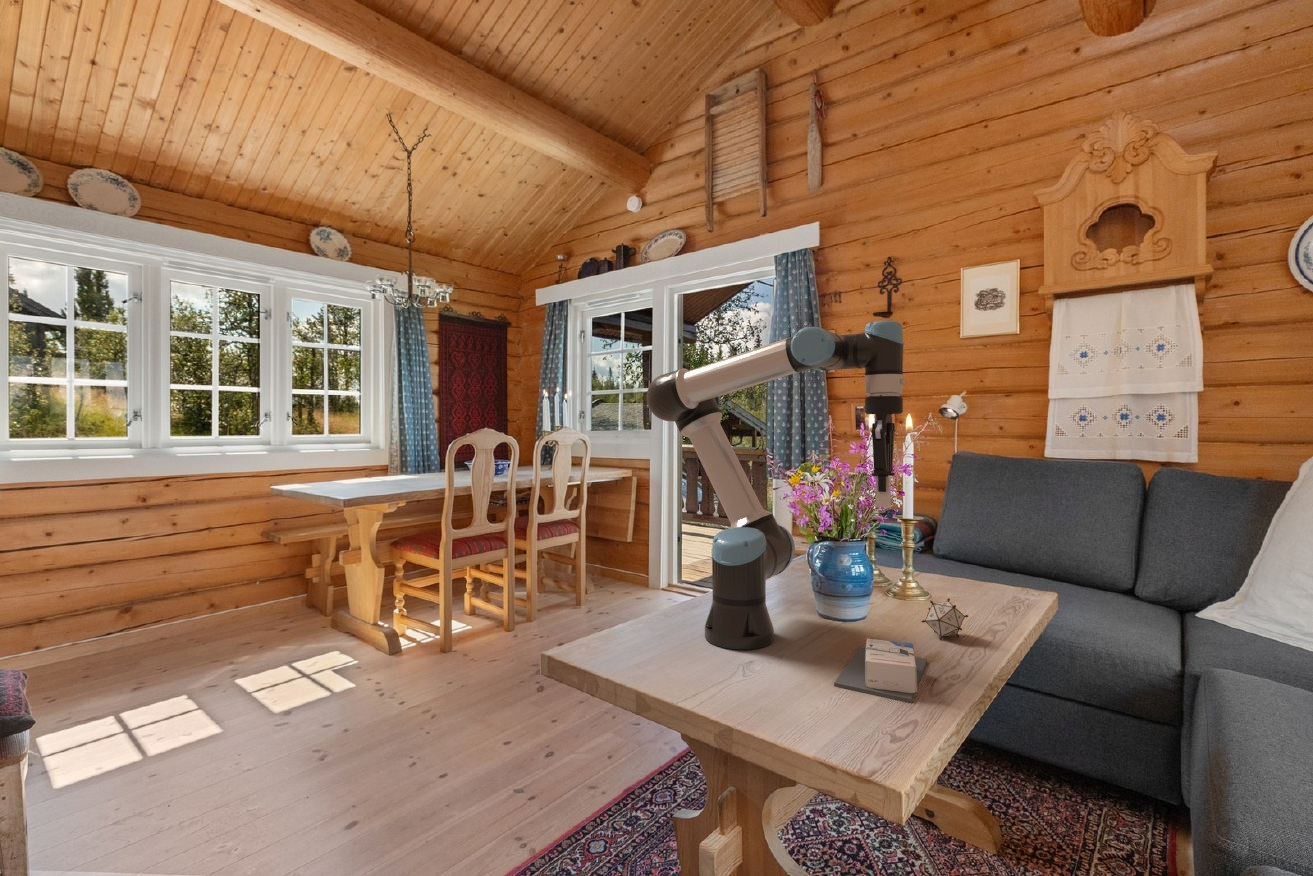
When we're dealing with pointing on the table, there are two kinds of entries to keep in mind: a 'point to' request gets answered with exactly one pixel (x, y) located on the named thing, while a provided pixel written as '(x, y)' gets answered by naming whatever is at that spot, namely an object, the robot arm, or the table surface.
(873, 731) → the table surface
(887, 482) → the robot arm
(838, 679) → the mat
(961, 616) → the game die
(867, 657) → the ink box
